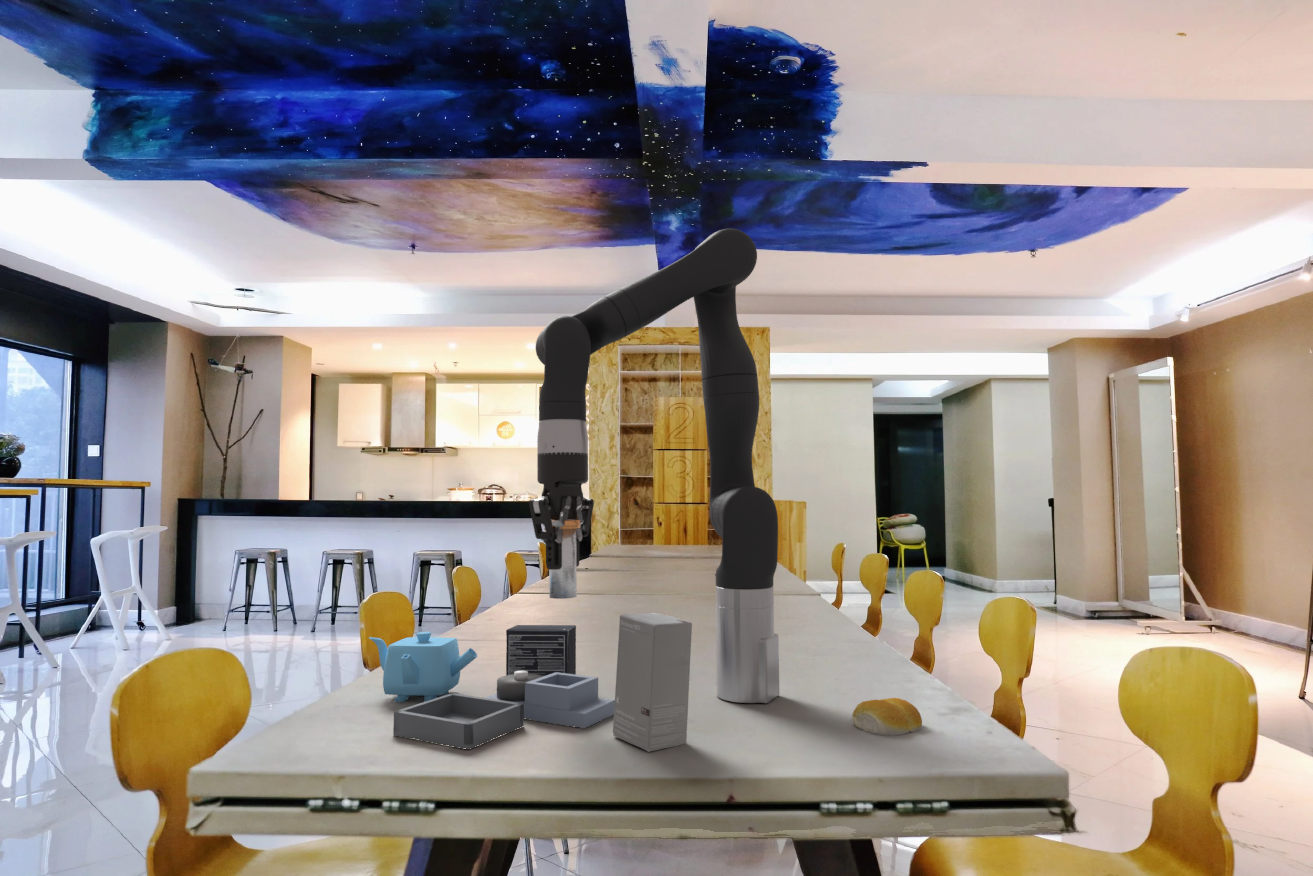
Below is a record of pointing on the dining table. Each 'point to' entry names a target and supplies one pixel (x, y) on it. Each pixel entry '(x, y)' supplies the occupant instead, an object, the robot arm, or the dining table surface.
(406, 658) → the teapot
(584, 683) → the block
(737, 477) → the robot arm
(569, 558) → the copper capped glass jar
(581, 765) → the dining table surface
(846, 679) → the dining table surface
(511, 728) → the tray
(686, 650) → the skincare box
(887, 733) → the bread roll
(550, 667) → the small box
